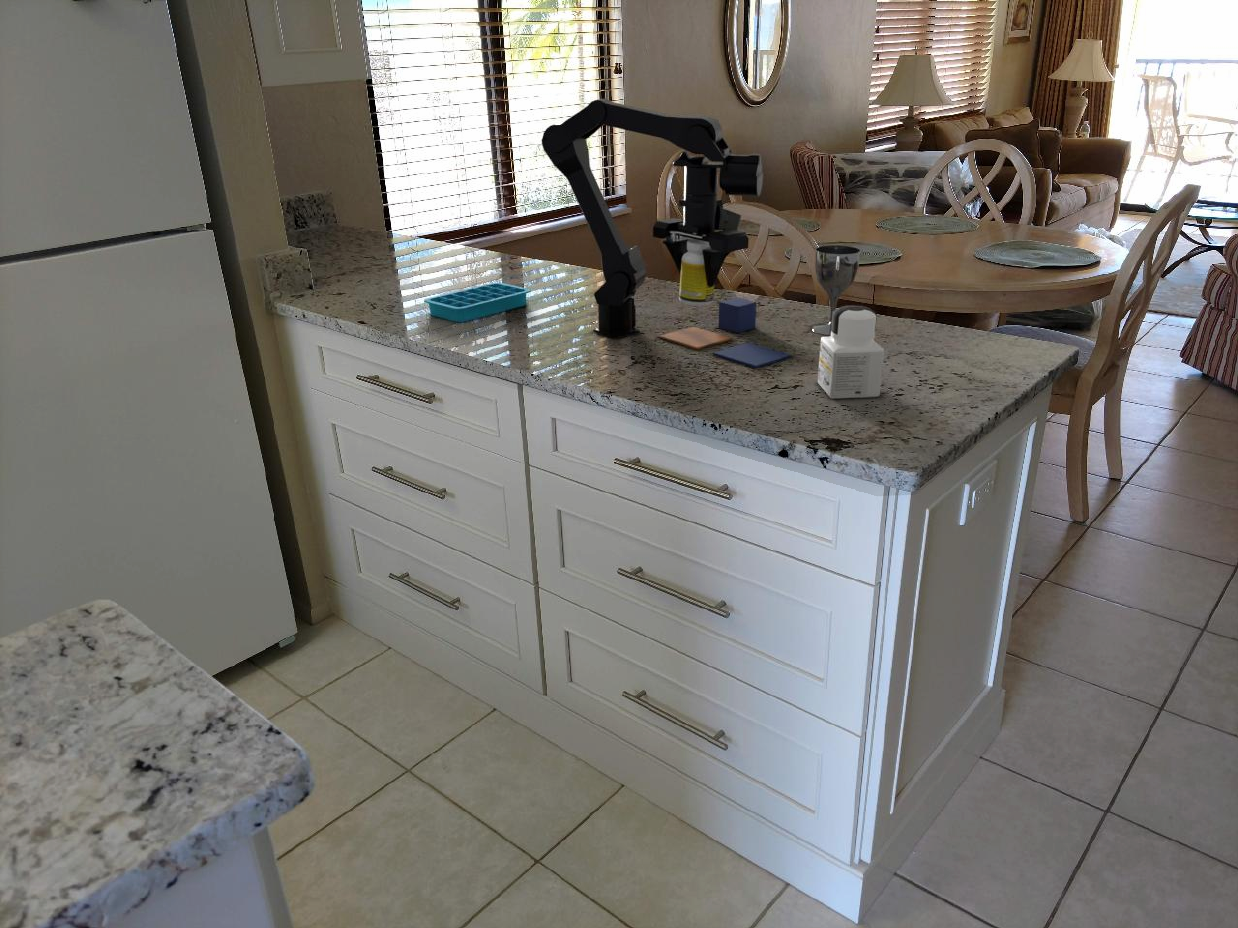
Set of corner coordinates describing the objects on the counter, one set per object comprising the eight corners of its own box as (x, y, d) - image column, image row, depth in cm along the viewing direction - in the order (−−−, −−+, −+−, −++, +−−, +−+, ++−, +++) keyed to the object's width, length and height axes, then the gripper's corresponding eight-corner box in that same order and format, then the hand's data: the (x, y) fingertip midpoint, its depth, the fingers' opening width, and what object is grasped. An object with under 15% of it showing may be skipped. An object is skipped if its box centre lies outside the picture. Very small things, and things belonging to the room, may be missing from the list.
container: (816, 383, 153) (823, 303, 148) (864, 381, 153) (872, 301, 148) (830, 399, 146) (837, 316, 140) (880, 397, 146) (889, 314, 141)
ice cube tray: (422, 314, 194) (420, 300, 192) (497, 295, 207) (496, 281, 206) (459, 324, 187) (458, 309, 185) (534, 304, 200) (533, 290, 199)
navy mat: (755, 368, 160) (755, 365, 160) (713, 354, 167) (713, 352, 167) (791, 357, 165) (791, 355, 165) (748, 344, 172) (748, 342, 172)
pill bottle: (711, 309, 170) (715, 247, 165) (676, 306, 171) (680, 244, 166) (714, 299, 176) (719, 239, 171) (681, 296, 177) (685, 236, 172)
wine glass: (857, 326, 182) (864, 247, 176) (847, 337, 176) (855, 255, 169) (815, 322, 185) (821, 244, 179) (805, 333, 179) (810, 252, 173)
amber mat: (697, 349, 170) (697, 347, 170) (658, 337, 177) (658, 335, 177) (732, 339, 175) (732, 337, 175) (693, 328, 182) (693, 326, 182)
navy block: (737, 332, 179) (738, 306, 177) (718, 327, 183) (718, 301, 181) (755, 328, 182) (756, 302, 180) (736, 322, 186) (737, 297, 184)
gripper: (772, 195, 164) (767, 285, 170) (696, 183, 177) (693, 268, 183) (727, 202, 157) (723, 295, 163) (651, 189, 170) (650, 276, 176)
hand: (697, 283), depth 172 cm, fingers closed on pill bottle, 6 cm apart
